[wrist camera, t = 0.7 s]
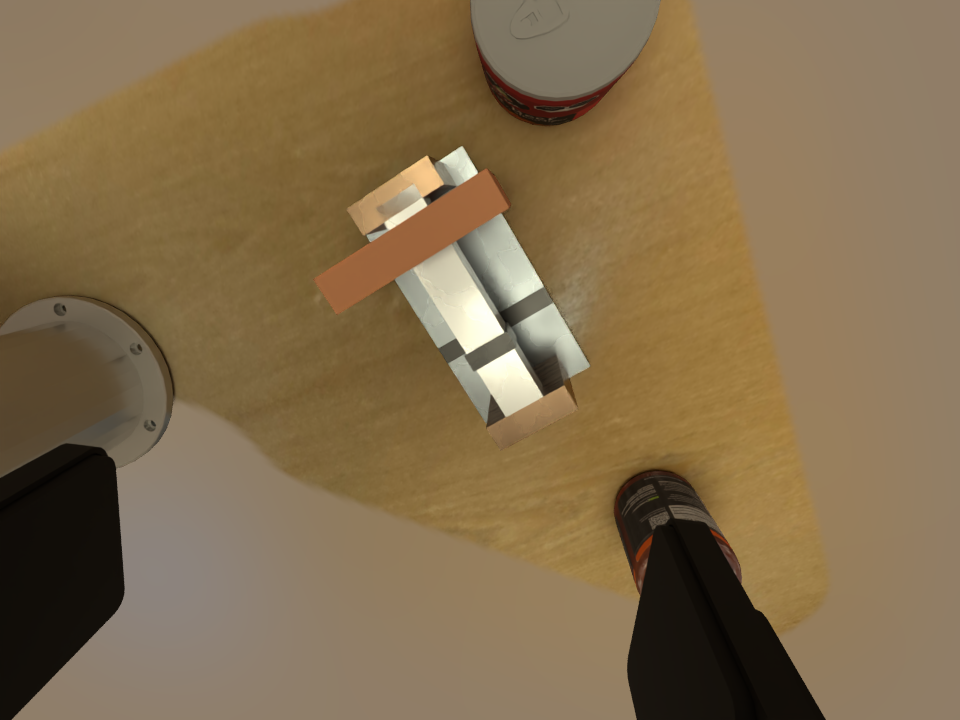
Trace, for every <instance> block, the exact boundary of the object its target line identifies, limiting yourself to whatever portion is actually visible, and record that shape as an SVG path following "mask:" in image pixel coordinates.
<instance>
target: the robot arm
mask: <svg viewBox="0 0 960 720" xmlns="http://www.w3.org/2000/svg"><path fill="white" fill-rule="evenodd" d="M172 406H173V389H172V382H171V378H170V374H169V370H168V367H167V365H166V363H165V360H164V358H163V356H162V354H161V352H160V350H159V349H158V347H157V346H156V344H155V343H154V342H153V340H152V339H151V337H150V336H149V335H148V334H147V333H146V332H145V331H144V330H143V329H142V328H141V327H140V325H139V324H138V323H136V322H135V321H134V320H132V319H131V318H130V317H128V316H127V315H126V314H125V313H123V312H122V311H120V310H118V309H116V308H114V307H112V306H110V305H108V304H106V303H104V302H100V301H97V300H94V299H91V298H87V297H79V296H72V295H71V296H56V297H51V298H47V299H42V300H37V301H35V302H32V303H30V304H28V305H25V306H23V307H21V308H20V309H19V310H17V311H16V312H14V313H13V314H12V315H10V316H9V318H8V319H7V320H6V321H5V322H4V323H3V325H2V326H1V327H0V720H12V719H13V718H14V716H15V715H16V714H17V713H18V712H19V711H20V710H21V709H22V708H23V707H24V706H25V705H26V704H27V703H28V702H29V701H30V700H31V699H32V698H33V697H34V696H35V695H36V694H37V693H38V692H39V691H40V690H41V689H42V688H43V687H44V686H45V685H46V683H48V682H49V680H50V679H51V678H52V677H53V676H54V675H55V674H56V673H57V672H58V671H59V670H60V669H61V668H62V667H63V666H64V665H65V664H66V663H67V662H68V661H69V660H70V659H71V658H72V657H73V656H74V655H75V654H76V653H77V652H78V651H79V650H80V648H81V647H83V645H84V644H85V643H86V642H87V641H88V640H89V639H90V638H91V637H92V636H93V635H94V634H95V633H96V632H97V631H98V630H99V629H100V628H101V627H102V626H103V625H104V624H105V623H106V621H108V620H109V619H110V618H111V617H112V616H113V614H115V612H116V611H117V610H118V608H119V606H120V605H121V602H122V600H123V597H124V589H125V588H124V573H123V560H122V546H121V532H120V518H119V504H118V491H117V477H116V468H120V467H123V466H125V465H127V464H129V463H131V462H134V461H136V460H137V459H138V458H140V457H141V456H143V455H144V454H146V453H147V452H148V451H150V449H151V448H153V446H155V445H156V444H157V443H158V442H159V440H160V439H161V437H162V435H163V434H164V432H165V431H166V428H167V426H168V423H169V420H170V418H171V413H172ZM627 673H628V681H629V686H630V691H631V695H632V700H633V704H634V708H635V713H636V718H637V720H826V719H825V718H824V716H823V714H822V713H821V711H820V709H819V707H818V706H817V704H816V702H815V700H814V699H813V697H812V695H811V694H810V692H809V690H808V689H807V687H806V685H805V683H804V681H803V680H802V678H801V676H800V675H799V673H798V671H797V669H796V668H795V666H794V665H793V663H792V661H791V659H790V657H789V656H788V654H787V652H786V650H785V649H784V647H783V645H782V644H781V642H780V640H779V638H778V637H777V635H776V633H775V632H774V630H773V628H772V626H771V625H770V623H769V621H768V620H767V618H766V617H765V616H764V614H763V613H762V612H760V611H758V610H756V609H755V608H754V606H753V605H752V603H751V601H750V599H749V598H748V596H747V594H746V592H745V590H744V589H743V587H742V585H741V583H740V582H739V580H738V578H737V576H736V575H735V573H734V571H733V569H732V568H731V566H730V564H729V562H728V560H727V559H726V557H725V555H724V553H723V552H722V550H721V548H720V546H719V545H718V543H717V541H716V539H715V537H714V536H713V534H712V532H711V530H710V529H709V527H708V525H707V524H706V523H705V522H701V521H693V520H685V519H677V518H669V519H668V521H667V523H666V525H665V526H663V525H657V526H656V527H655V529H654V533H653V537H652V542H651V547H650V552H649V557H648V562H647V567H646V571H645V576H644V581H643V586H642V591H641V596H640V601H639V606H638V611H637V615H636V620H635V625H634V631H633V635H632V640H631V645H630V650H629V655H628V663H627Z"/></svg>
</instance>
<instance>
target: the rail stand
mask: <svg viewBox="0 0 960 720" xmlns="http://www.w3.org/2000/svg"><path fill="white" fill-rule="evenodd" d="M476 174H478V171H477V170H476V168H475V166H474V165H473V163H472V161H471V159H470V158H469V156H468V154H467V153H466V151H465V149H464V147H463V146H461V147H460V148H458V149H457V150H455V151H454V152H452V153H450V154H449V155H447V156H446V157H444V158H443V159H441V160H440V161H438V160H436V159H434V158H432V157H430V156H425V157H424V158H422V159H421V160H419V161H418V162H416V163H415V164H413V165H412V166H410V167H409V168H407V169H406V170H404V171H403V172H401V173H400V174H398V175H397V176H395V177H394V178H392V179H391V180H389V181H388V182H386V183H384V184H383V185H381V186H380V187H378V188H377V189H375V190H374V191H372V192H371V193H369V194H368V195H366V196H365V197H363V198H362V199H360V200H359V201H357V202H356V203H354V204H353V205H351V206H350V207H348V208H347V211H348V212H349V214H350V216H351V217H352V219H353V220H354V222H355V223H356V225H357V227H358V228H359V230H360V231H361V233H362V234H363V236H365V235H366V236H367V237H368V239H369V241H370V242H372V241H373V240H375V239H377V238H378V237H380V236H381V235H383V234H384V233H386V232H387V231H389V230H391V229H392V228H394V227H395V226H397V225H398V224H400V223H401V222H403V221H405V220H406V219H408V218H409V217H411V216H412V215H414V214H416V213H417V212H419V211H420V210H422V209H423V208H425V207H426V206H428V205H430V204H431V203H433V202H434V201H436V200H437V199H439V198H440V197H442V196H444V195H445V194H447V193H448V192H450V191H451V190H453V189H455V188H456V187H458V186H459V185H461V184H462V183H464V182H465V181H467V180H469V179H470V178H472V177H473V176H475V175H476ZM394 280H395V281H396V283H397V284H398V286H399V288H400V289H401V291H402V292H403V294H404V295H405V297H406V299H407V300H408V302H409V303H410V305H411V306H412V308H413V310H414V311H415V313H416V314H417V316H418V317H419V319H420V321H421V322H422V324H423V325H424V327H425V328H426V330H427V332H428V333H429V335H430V336H431V338H432V339H433V341H434V343H435V344H436V346H437V347H438V349H439V351H440V352H441V354H442V355H443V357H444V359H445V360H446V362H447V363H448V364H449V366H450V368H451V369H452V371H453V372H454V374H455V375H456V377H457V379H458V380H459V382H460V383H461V385H462V386H463V388H464V390H465V391H466V393H467V394H468V396H469V397H470V399H471V401H472V402H473V404H474V405H475V407H476V408H477V410H478V412H479V413H480V415H481V416H482V418H483V419H484V421H485V423H487V426H486V429H487V430H488V432H489V433H490V435H491V436H492V438H493V440H494V441H495V443H496V444H497V446H498V447H499V449H500V450H503V449H505V448H507V447H509V446H511V445H513V444H514V443H516V442H518V441H520V440H522V439H524V438H526V437H528V436H529V435H531V434H533V433H535V432H537V431H539V430H541V429H543V428H544V427H546V426H548V425H550V424H552V423H554V422H556V421H558V420H559V419H561V418H563V417H565V416H567V415H569V414H571V413H573V412H574V411H576V410H578V406H577V402H576V399H575V395H574V392H573V388H572V385H571V381H570V377H572V376H573V375H575V374H577V373H579V372H581V371H583V370H584V369H586V368H588V367H590V364H589V362H588V361H587V359H586V357H585V356H584V354H583V352H582V350H581V349H580V347H579V345H578V344H577V342H576V340H575V338H574V337H573V335H572V333H571V331H570V330H569V328H568V326H567V325H566V323H565V321H564V319H563V318H562V316H561V314H560V313H559V311H558V309H557V307H556V306H555V304H554V302H553V301H552V299H551V297H550V295H549V294H548V292H547V290H546V288H545V287H544V285H543V283H542V282H541V280H540V278H539V276H538V275H537V273H536V271H535V270H534V268H533V266H532V264H531V263H530V261H529V259H528V258H527V256H526V254H525V252H524V251H523V249H522V247H521V245H520V244H519V242H518V240H517V239H516V237H515V235H514V233H513V232H512V230H511V228H510V227H509V225H508V223H507V221H506V220H505V218H504V216H503V215H502V213H500V214H499V215H497V216H495V217H494V218H492V219H491V220H489V221H487V222H486V223H484V224H483V225H481V226H479V227H478V228H476V229H475V230H473V231H471V232H470V233H468V234H467V235H465V236H463V237H462V238H460V239H458V240H457V241H455V242H454V243H452V244H450V245H449V246H447V247H446V248H444V249H442V250H441V251H439V252H438V253H436V254H434V255H433V256H431V257H429V258H428V259H426V260H425V261H423V262H421V263H420V264H418V265H417V266H415V267H413V268H412V269H410V270H409V271H407V272H405V273H404V274H402V275H401V276H399V277H397V278H396V279H394Z"/></svg>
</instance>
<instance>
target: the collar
mask: <svg viewBox="0 0 960 720" xmlns="http://www.w3.org/2000/svg"><path fill="white" fill-rule="evenodd" d="M510 206H511V203H510V201H509V200H508V198H507V196H506V194H505V193H504V191H503V189H502V187H501V186H500V184H499V182H498V181H497V179H496V177H495V175H494V174H492V173H491V172H490V171H489V170H488V169H487V168H486V169H484V170H483V171H481V172H479V173H478V174H476V175H475V176H473V177H472V178H470V179H469V180H467V181H465V182H464V183H462V184H461V185H459V186H458V187H456V188H455V189H453V190H451V191H450V192H448V193H447V194H445V195H444V196H442V197H440V198H439V199H437V200H436V201H434V202H433V203H431V204H430V205H428V206H426V207H425V208H423V209H422V210H420V211H419V212H417V213H416V214H414V215H412V216H411V217H409V218H408V219H406V220H405V221H403V222H401V223H400V224H398V225H397V226H395V227H394V228H392V229H391V230H389V231H387V232H386V233H384V234H383V235H381V236H380V237H378V238H377V239H375V240H373V241H372V242H370V243H369V244H367V245H366V246H364V247H363V248H361V249H359V250H358V251H356V252H355V253H353V254H352V255H350V256H348V257H347V258H345V259H344V260H342V261H341V262H339V263H338V264H336V265H334V266H333V267H331V268H330V269H328V270H327V271H325V272H324V273H322V274H320V275H319V276H317V277H316V278H314V279H313V280H314V281H315V283H316V284H317V286H318V287H319V289H320V290H321V292H322V293H323V295H324V296H325V298H326V299H327V301H328V302H329V304H330V305H331V307H332V308H333V310H334V311H335V313H336V314H337V315H338V314H339V313H341V312H343V311H344V310H346V309H347V308H349V307H351V306H352V305H354V304H355V303H357V302H359V301H360V300H362V299H363V298H365V297H367V296H368V295H370V294H372V293H373V292H375V291H376V290H378V289H380V288H381V287H383V286H384V285H386V284H388V283H389V282H391V281H392V280H394V279H396V278H397V277H399V276H401V275H402V274H404V273H405V272H407V271H409V270H410V269H412V268H413V267H415V266H417V265H418V264H420V263H421V262H423V261H425V260H426V259H428V258H429V257H431V256H433V255H434V254H436V253H438V252H439V251H441V250H442V249H444V248H446V247H447V246H449V245H450V244H452V243H454V242H455V241H457V240H458V239H460V238H462V237H463V236H465V235H467V234H468V233H470V232H471V231H473V230H475V229H476V228H478V227H479V226H481V225H483V224H484V223H486V222H487V221H489V220H491V219H492V218H494V217H495V216H497V215H499V214H500V213H502V212H504V211H505V210H507V209H508V208H510Z"/></svg>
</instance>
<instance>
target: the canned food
mask: <svg viewBox="0 0 960 720" xmlns="http://www.w3.org/2000/svg"><path fill="white" fill-rule="evenodd" d="M660 1H661V0H470V8H471V24H472V29H473V33H474V38H475V42H476V47H477V50H478V53H479V57H480V60H481V63H482V67H483V70H484V74H485V77H486V80H487V83H488V85H489V87H490V90H491V92H492V94H493V96H494V97H495V98H496V100H497V101H498V103H499V104H500V105H501V106H502V107H503V108H504V109H505V110H506V111H507V112H508V113H510V114H511V115H513V116H515V117H516V118H518V119H520V120H522V121H525V122H528V123H531V124H535V125H544V126H548V125H559V124H562V123H566V122H569V121H572V120H574V119H576V118H578V117H580V116H582V115H584V114H585V113H586V112H588V111H589V110H590V109H592V108H593V107H594V106H595V105H596V104H597V103H598V102H599V101H600V100H601V99H602V98H603V97H604V95H605V94H606V93H607V92H608V91H609V90H610V89H611V88H612V86H613V85H614V84H615V83H616V82H617V81H618V80H619V79H620V78H621V76H622V75H623V74H624V73H625V72H626V71H627V70H628V69H629V67H630V66H631V65H632V64H633V62H634V61H635V60H636V59H637V57H638V56H639V54H640V52H641V51H642V49H643V48H644V46H645V44H646V43H647V41H648V39H649V36H650V34H651V31H652V29H653V26H654V24H655V21H656V18H657V15H658V10H659V5H660Z"/></svg>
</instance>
